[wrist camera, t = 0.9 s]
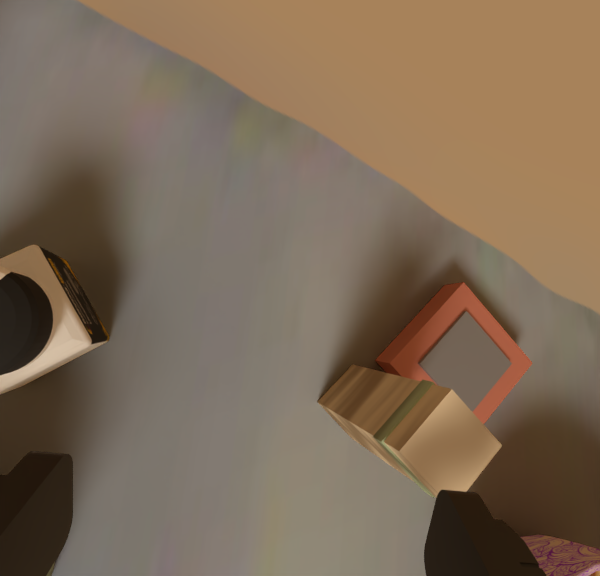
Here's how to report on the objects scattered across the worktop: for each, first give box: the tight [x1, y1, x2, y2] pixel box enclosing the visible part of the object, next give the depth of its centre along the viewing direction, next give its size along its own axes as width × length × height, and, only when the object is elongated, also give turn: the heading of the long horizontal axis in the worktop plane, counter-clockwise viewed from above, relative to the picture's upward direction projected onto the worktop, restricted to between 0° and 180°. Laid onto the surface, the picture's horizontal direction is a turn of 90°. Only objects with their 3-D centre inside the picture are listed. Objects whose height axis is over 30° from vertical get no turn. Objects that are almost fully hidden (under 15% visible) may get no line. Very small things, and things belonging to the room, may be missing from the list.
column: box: [318, 364, 502, 498], centre depth 31 cm, size 5×5×15 cm
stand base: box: [375, 282, 532, 424], centre depth 39 cm, size 10×10×3 cm
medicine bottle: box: [0, 245, 109, 395], centre depth 27 cm, size 7×7×12 cm
